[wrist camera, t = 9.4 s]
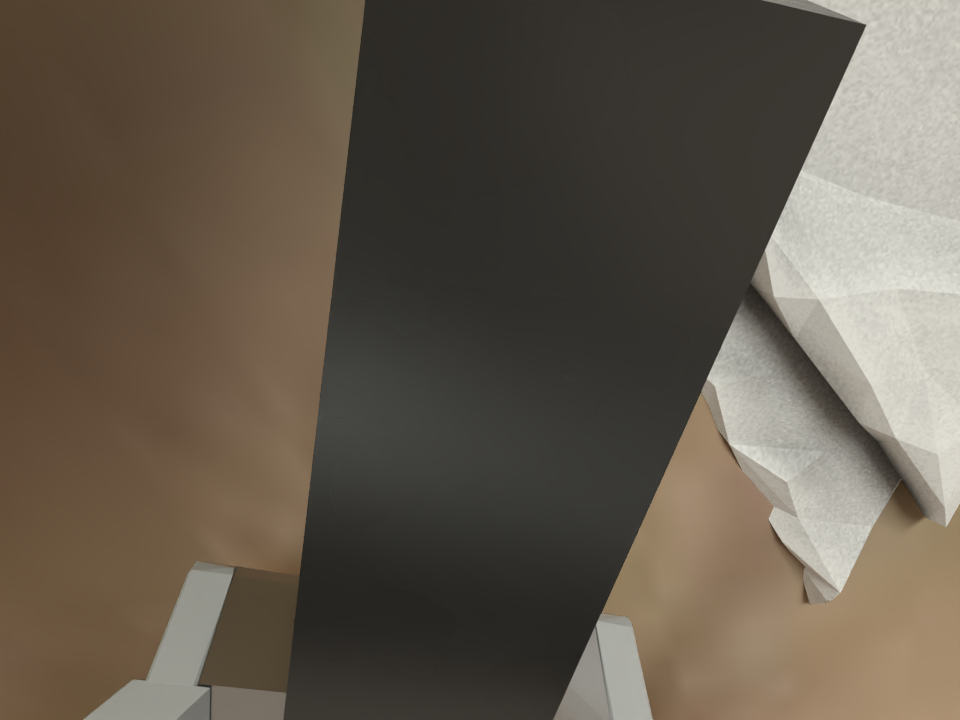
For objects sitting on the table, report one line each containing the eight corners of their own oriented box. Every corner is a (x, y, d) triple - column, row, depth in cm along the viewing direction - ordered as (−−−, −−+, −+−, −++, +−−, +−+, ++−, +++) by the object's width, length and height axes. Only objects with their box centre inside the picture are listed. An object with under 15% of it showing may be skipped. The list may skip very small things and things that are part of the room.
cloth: (988, -1457, 7) (1185, -1957, 5) (2072, -876, 9) (2526, -1084, 7) (442, 534, 21) (439, 602, 19) (896, 602, 23) (934, 670, 21)
